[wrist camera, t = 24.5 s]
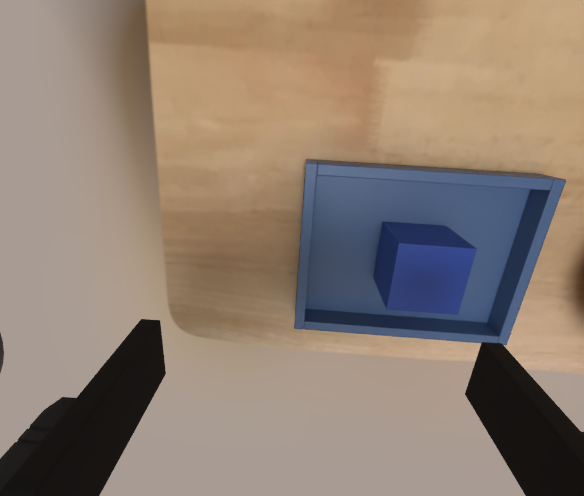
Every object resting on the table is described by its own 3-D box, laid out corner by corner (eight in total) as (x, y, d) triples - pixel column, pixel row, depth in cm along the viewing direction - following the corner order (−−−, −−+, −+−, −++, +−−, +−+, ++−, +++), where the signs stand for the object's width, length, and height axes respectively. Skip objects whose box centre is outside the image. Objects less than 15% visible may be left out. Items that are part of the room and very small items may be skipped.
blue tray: (295, 311, 30) (294, 328, 27) (306, 159, 25) (305, 162, 22) (490, 327, 29) (506, 345, 27) (540, 174, 24) (566, 179, 22)
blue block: (373, 277, 27) (386, 309, 23) (382, 221, 25) (398, 243, 21) (432, 282, 27) (458, 315, 23) (446, 225, 25) (477, 248, 21)
